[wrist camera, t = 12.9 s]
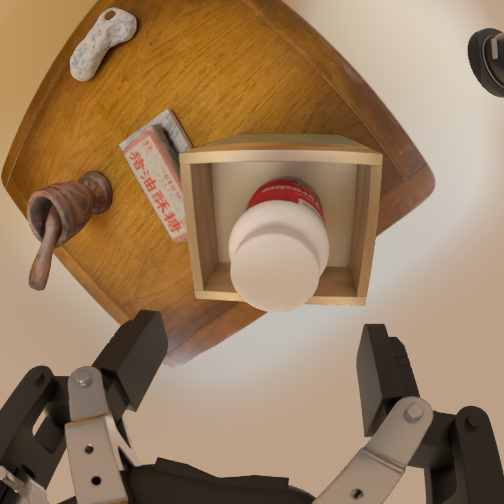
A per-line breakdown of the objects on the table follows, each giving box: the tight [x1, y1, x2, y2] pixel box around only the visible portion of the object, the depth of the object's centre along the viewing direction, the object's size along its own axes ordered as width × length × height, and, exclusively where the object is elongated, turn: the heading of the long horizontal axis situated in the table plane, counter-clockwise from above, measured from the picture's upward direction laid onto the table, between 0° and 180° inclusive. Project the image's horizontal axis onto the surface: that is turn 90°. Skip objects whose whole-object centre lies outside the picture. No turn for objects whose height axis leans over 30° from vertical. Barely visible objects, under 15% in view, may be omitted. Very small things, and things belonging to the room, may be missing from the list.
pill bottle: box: [229, 177, 329, 312], centre depth 21 cm, size 6×6×11 cm
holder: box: [179, 143, 383, 306], centre depth 24 cm, size 14×12×6 cm
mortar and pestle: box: [27, 171, 112, 291], centre depth 37 cm, size 12×9×20 cm
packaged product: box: [119, 109, 193, 243], centre depth 41 cm, size 18×5×10 cm
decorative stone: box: [70, 8, 137, 81], centre depth 33 cm, size 13×7×5 cm, turn 138°
